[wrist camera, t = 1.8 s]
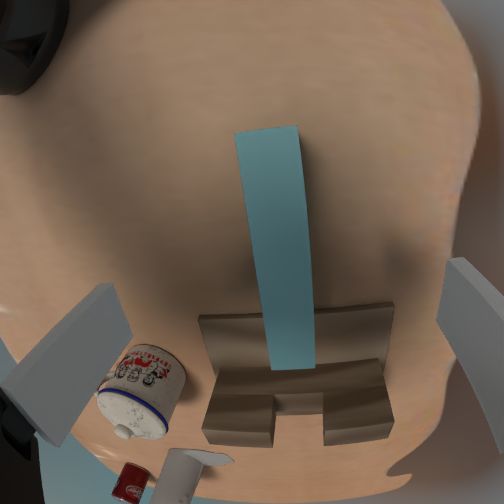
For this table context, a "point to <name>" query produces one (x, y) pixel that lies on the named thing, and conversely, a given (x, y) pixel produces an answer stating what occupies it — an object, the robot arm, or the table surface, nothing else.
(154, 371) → the teacup with lid
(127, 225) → the table surface
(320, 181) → the table surface
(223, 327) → the brown stepped fixture
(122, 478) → the soda can
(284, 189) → the teal notched block
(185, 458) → the candle
